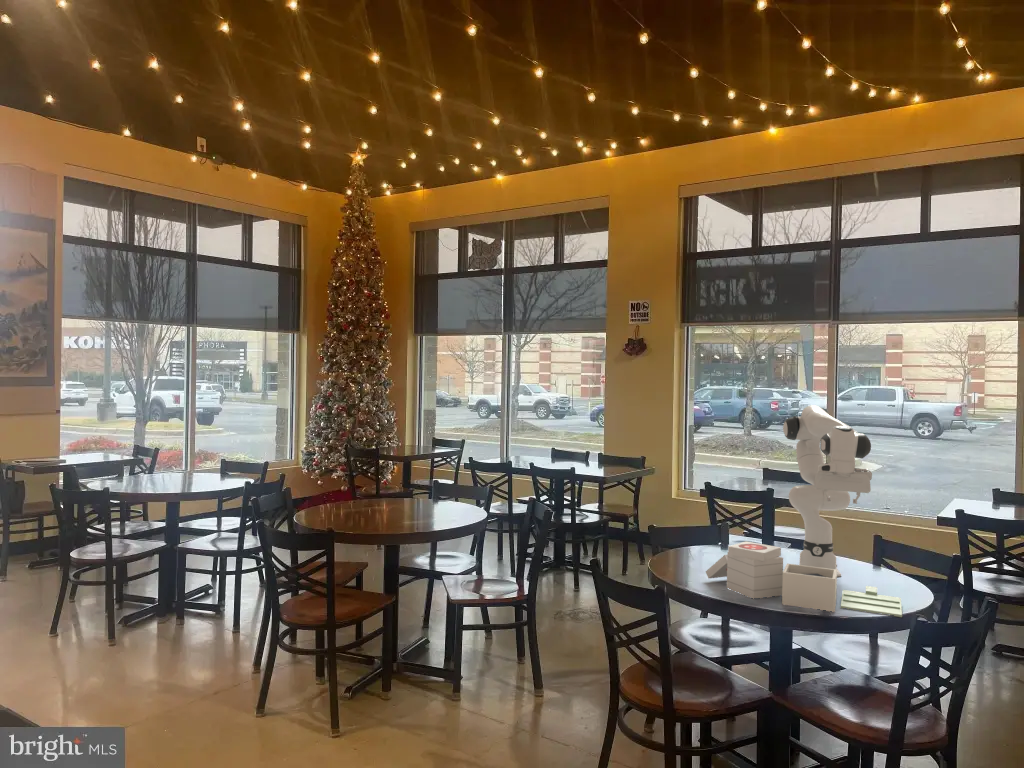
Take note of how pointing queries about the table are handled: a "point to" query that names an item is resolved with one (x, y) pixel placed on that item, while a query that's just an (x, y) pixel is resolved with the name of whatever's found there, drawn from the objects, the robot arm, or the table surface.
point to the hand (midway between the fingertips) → (841, 502)
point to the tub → (809, 587)
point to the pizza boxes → (751, 569)
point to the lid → (871, 602)
